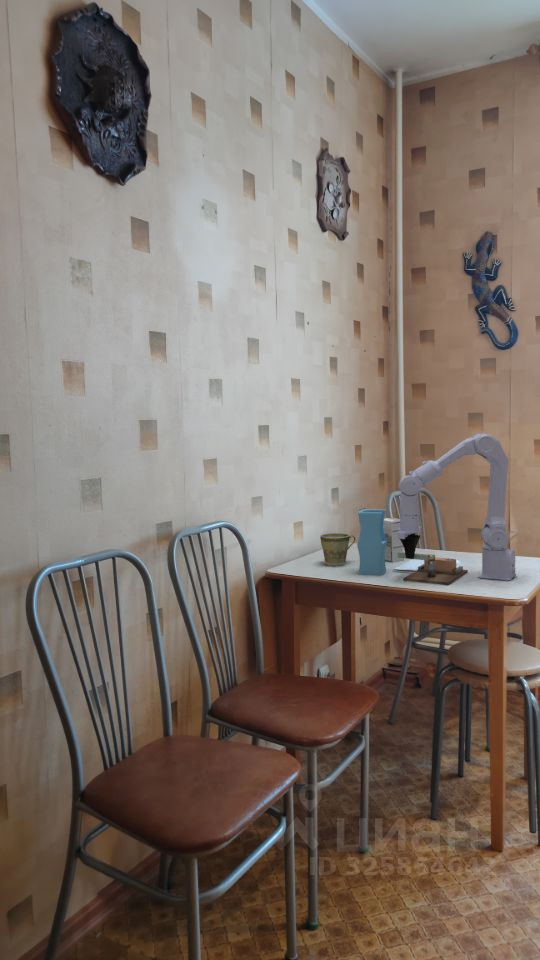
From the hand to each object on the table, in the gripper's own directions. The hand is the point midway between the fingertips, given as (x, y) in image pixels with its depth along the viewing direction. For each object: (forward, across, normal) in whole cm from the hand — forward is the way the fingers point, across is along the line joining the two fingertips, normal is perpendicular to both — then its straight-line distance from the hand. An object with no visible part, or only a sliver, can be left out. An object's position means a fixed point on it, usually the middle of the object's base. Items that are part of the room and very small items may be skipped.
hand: (409, 558), depth 219 cm
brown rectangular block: (+5, -9, +6) cm, 12 cm away
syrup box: (+6, -23, -15) cm, 29 cm away
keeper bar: (0, -1, +2) cm, 2 cm away
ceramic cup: (+6, -10, -30) cm, 32 cm away
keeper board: (+6, -5, +6) cm, 10 cm away
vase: (+6, -2, -14) cm, 15 cm away
